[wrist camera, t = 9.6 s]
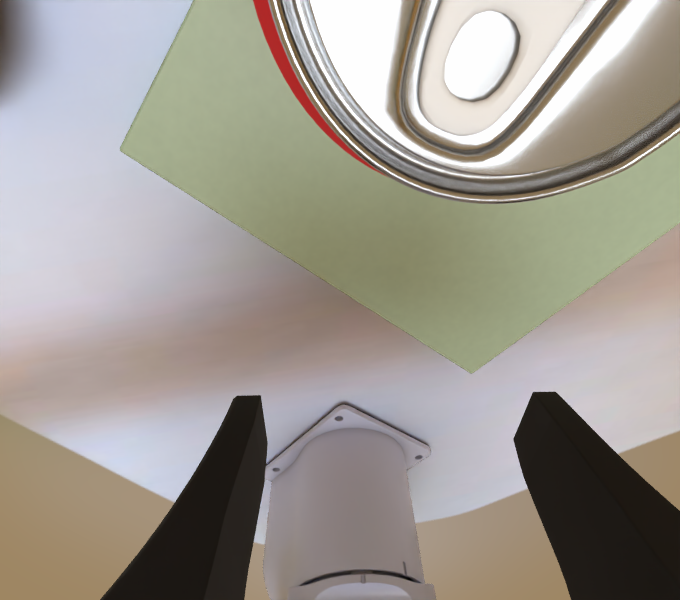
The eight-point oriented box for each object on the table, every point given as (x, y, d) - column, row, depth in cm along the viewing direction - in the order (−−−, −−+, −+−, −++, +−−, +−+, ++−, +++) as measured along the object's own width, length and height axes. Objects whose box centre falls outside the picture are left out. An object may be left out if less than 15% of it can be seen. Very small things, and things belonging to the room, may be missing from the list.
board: (466, 359, 25) (472, 377, 24) (129, 140, 17) (115, 152, 16) (713, 174, 19) (737, 186, 18) (357, -309, 11) (361, -341, 10)
